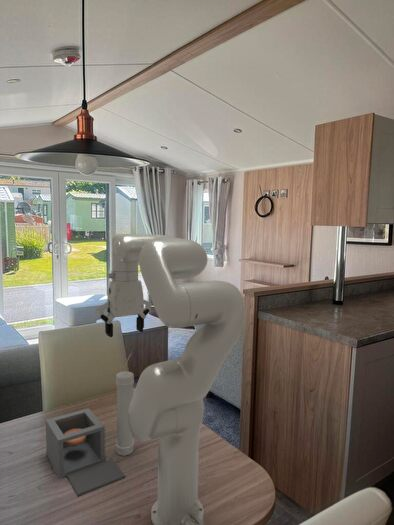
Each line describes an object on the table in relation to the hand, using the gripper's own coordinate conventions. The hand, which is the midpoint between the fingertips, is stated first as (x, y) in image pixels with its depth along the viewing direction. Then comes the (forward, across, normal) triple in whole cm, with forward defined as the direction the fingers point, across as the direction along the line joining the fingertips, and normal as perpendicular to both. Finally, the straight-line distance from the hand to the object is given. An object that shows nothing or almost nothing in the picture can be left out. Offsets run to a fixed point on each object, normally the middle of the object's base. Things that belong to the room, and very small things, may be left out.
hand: (125, 333), depth 114 cm
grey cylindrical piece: (+37, 0, -1) cm, 37 cm away
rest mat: (+36, -12, -8) cm, 39 cm away
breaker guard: (+37, -14, +4) cm, 39 cm away
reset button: (+32, -14, +4) cm, 35 cm away
